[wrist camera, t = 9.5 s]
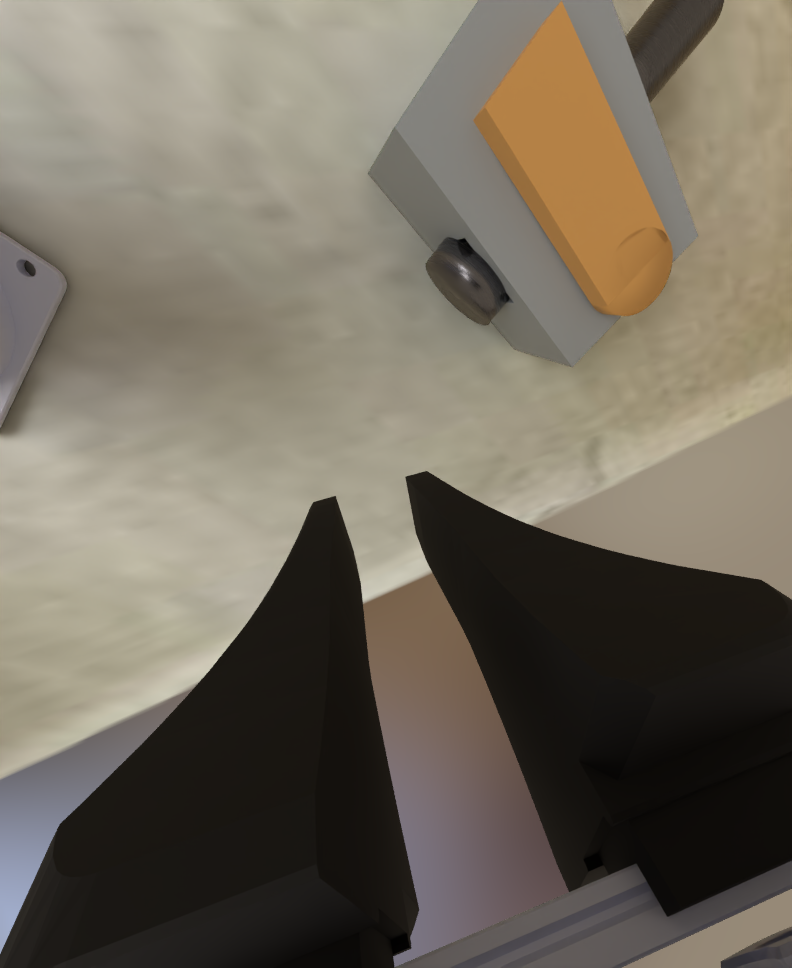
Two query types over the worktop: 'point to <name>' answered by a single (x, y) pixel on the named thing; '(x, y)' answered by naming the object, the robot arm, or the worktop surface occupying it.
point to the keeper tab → (577, 171)
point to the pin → (657, 55)
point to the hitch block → (489, 190)
